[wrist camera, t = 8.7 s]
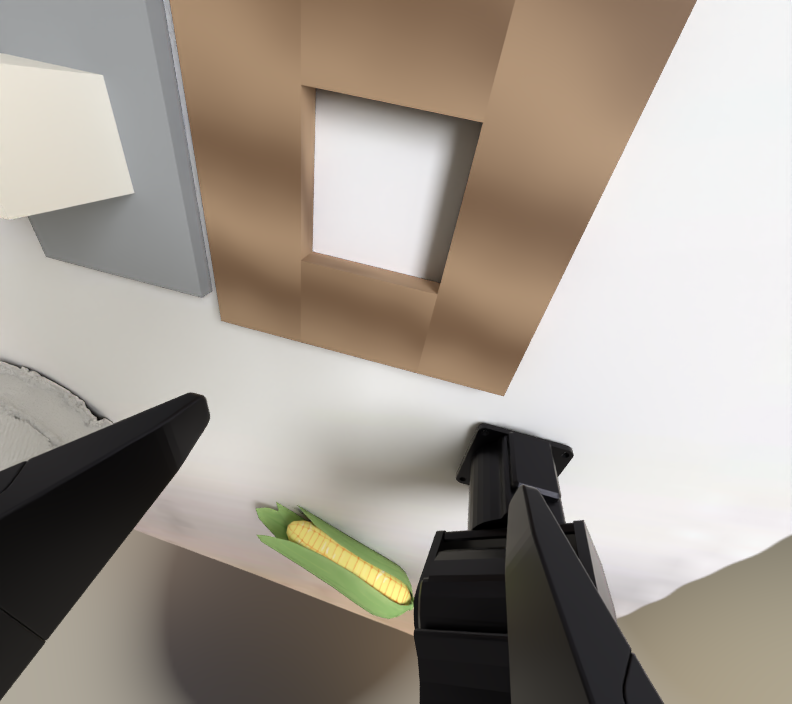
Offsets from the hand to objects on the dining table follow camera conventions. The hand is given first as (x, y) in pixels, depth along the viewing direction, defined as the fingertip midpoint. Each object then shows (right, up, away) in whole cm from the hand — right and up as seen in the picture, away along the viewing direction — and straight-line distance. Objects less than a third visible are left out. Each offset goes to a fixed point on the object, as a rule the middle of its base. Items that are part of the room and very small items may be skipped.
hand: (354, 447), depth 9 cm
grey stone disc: (-36, -6, +28) cm, 46 cm away
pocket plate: (+1, +10, +7) cm, 13 cm away
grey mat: (-15, +14, +9) cm, 22 cm away
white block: (-15, +14, +8) cm, 22 cm away
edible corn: (-4, -18, +28) cm, 34 cm away
